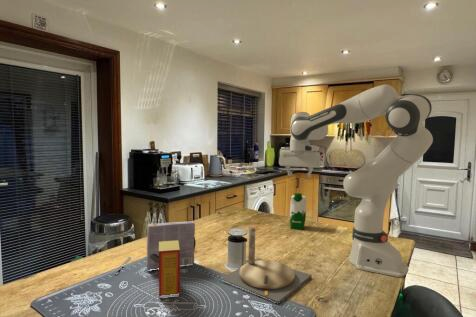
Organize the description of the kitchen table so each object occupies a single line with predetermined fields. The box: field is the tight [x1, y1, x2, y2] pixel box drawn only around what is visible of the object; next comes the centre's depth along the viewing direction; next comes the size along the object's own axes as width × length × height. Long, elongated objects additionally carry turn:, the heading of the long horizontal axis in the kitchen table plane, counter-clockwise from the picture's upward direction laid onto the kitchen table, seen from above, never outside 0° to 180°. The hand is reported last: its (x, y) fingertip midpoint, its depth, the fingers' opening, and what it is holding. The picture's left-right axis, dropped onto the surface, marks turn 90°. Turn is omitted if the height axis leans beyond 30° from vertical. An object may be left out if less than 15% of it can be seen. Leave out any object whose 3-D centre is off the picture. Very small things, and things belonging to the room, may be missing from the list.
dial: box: [240, 226, 295, 289], centre depth 113 cm, size 20×20×16 cm
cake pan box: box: [146, 220, 197, 271], centre depth 123 cm, size 19×5×18 cm, turn 111°
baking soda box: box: [158, 240, 181, 296], centre depth 104 cm, size 10×6×16 cm
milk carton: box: [289, 192, 307, 231], centre depth 177 cm, size 9×9×20 cm
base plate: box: [220, 257, 312, 303], centre depth 114 cm, size 24×24×1 cm
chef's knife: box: [120, 256, 132, 267], centre depth 125 cm, size 19×1×3 cm
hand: (299, 176), depth 147 cm, fingers open, 8 cm apart
